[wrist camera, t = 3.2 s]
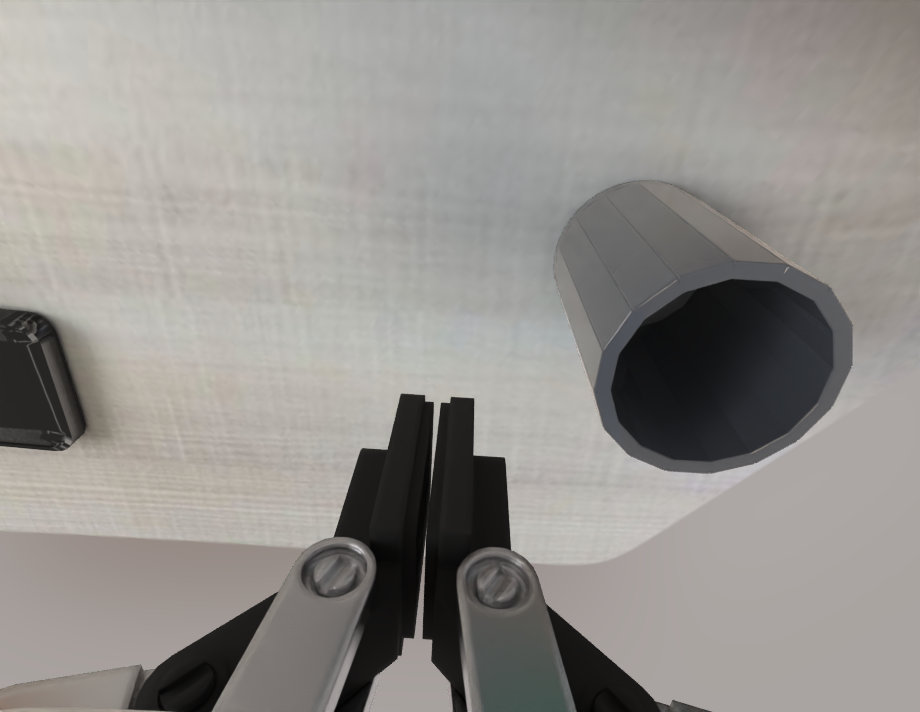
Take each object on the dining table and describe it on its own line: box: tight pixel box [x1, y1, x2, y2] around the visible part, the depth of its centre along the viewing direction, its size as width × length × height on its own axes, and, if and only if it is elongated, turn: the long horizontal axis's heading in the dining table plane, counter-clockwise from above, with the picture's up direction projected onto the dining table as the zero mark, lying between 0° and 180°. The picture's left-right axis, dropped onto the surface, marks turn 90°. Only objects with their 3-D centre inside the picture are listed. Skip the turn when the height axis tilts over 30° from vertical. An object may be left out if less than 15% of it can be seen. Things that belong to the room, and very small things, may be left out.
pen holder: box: [554, 181, 853, 474], centre depth 20 cm, size 7×7×10 cm
